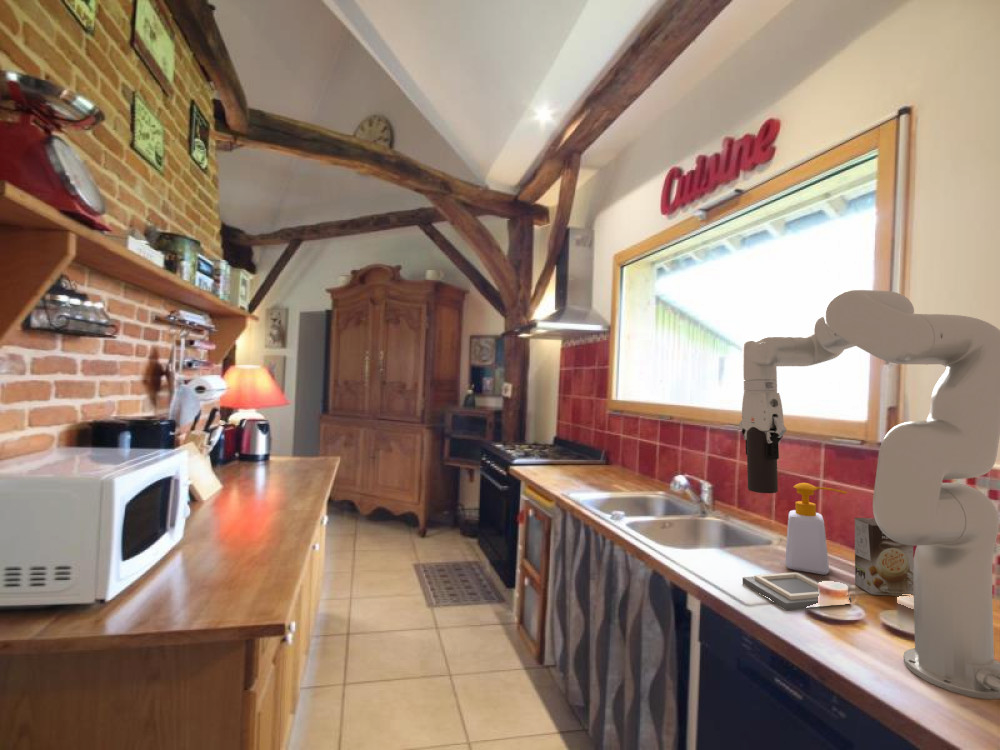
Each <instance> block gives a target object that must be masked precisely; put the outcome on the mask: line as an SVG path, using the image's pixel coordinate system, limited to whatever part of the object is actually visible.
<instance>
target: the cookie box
mask: <svg viewBox="0 0 1000 750" xmlns="http://www.w3.org/2000/svg"><path fill="white" fill-rule="evenodd" d="M913 564H914V546H912V545H904V544H900V543H897V542H895V541H893V540H891V539H890V538H888V537H887V536H886V535H885V534H884V533H883V532H882V531H881V530H880V528H879V527H878V525H877V523H876V521H875V518H872V517H871V518H869V517H868V518H867V517H866V518H865V517H854V584H855V585H856V586H858V587H859V588H861V589H863V590H864V591H865V592H867V593H868V594H870V595H874V596H893V597H899V596H898V595H902V594H911V595H914V579H913V573H914V570H913Z"/></svg>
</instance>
